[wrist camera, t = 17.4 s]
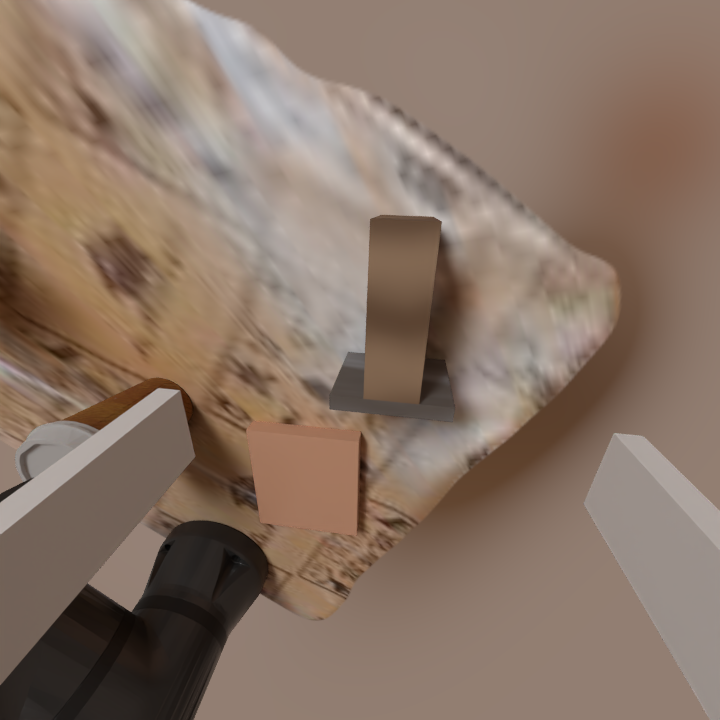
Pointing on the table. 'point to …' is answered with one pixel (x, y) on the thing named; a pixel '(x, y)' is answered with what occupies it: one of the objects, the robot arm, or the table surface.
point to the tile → (306, 476)
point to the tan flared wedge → (398, 328)
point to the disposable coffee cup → (82, 427)
